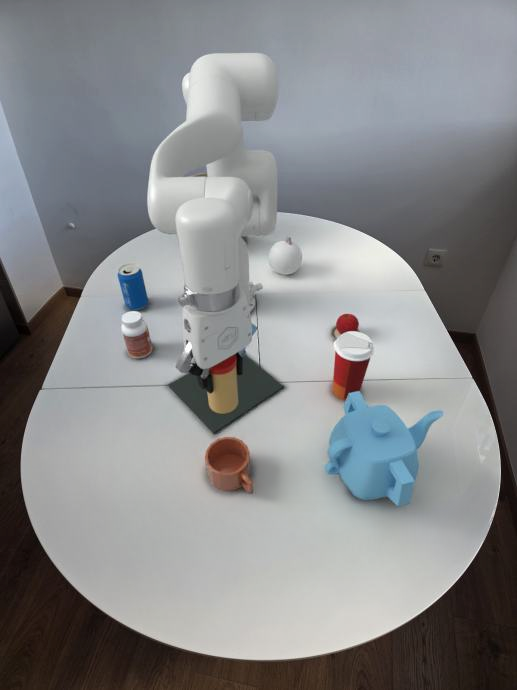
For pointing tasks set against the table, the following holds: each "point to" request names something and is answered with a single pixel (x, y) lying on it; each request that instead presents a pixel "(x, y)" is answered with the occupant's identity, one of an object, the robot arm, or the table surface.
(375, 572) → the table surface
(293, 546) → the table surface
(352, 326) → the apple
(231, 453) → the terracotta mug
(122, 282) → the beverage can
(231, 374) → the jar
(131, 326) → the pill bottle
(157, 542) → the table surface
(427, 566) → the table surface
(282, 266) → the ornament
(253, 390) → the mat
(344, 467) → the teapot
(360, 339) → the coffee cup
